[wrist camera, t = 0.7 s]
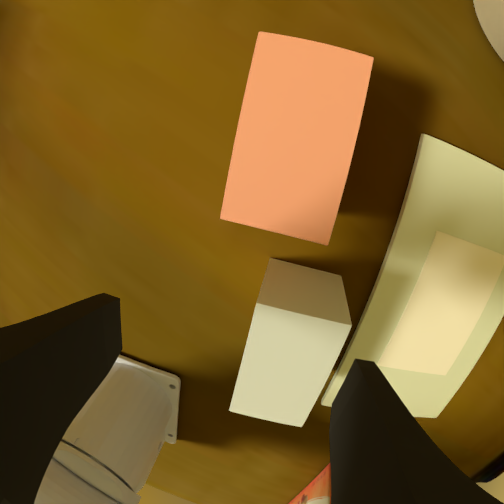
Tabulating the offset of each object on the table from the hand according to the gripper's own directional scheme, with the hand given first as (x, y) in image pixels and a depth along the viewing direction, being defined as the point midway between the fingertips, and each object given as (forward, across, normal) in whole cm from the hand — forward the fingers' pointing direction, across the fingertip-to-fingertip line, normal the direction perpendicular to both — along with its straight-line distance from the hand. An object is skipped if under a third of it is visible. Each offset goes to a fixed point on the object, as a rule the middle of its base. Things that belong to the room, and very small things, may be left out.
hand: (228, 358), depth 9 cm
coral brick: (+9, 0, -6) cm, 11 cm away
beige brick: (+9, -2, +4) cm, 10 cm away
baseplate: (+9, -11, +1) cm, 14 cm away
